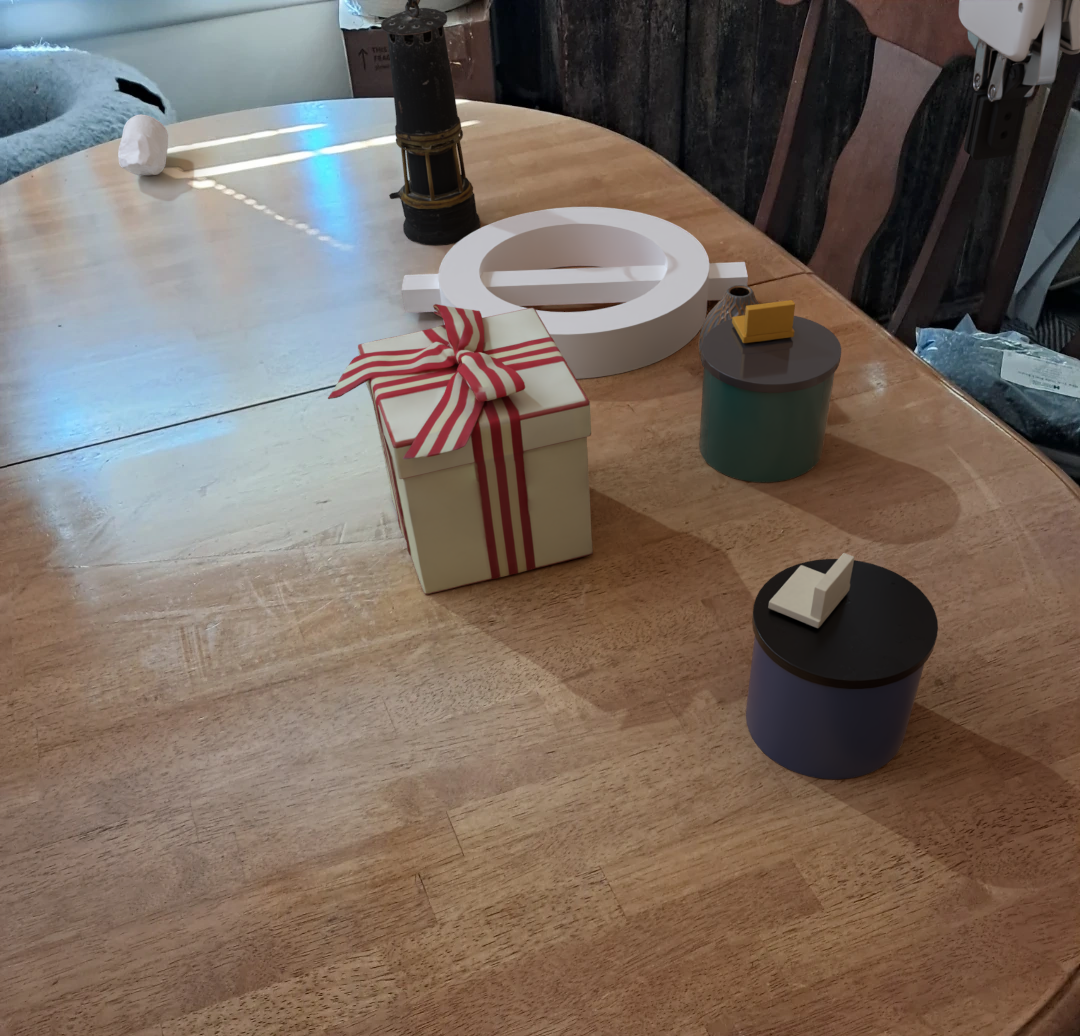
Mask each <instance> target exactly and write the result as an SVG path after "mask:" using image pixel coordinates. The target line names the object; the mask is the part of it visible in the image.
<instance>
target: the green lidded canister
mask: <svg viewBox="0 0 1080 1036" xmlns="http://www.w3.org/2000/svg"><path fill="white" fill-rule="evenodd" d="M792 328H793V329H794V337H790V338H782V339H774V340H766V341H758V342H750V343H743V342H742V340H741V338H740V336H739V335H738V333H737V331H736V329H735V327H734V325H733V323H732V319H729V320H727V321H724V322H722V323H720V324H718V325H717V326H715V327H714V328H712V329H711V330H710V331H709V332H708V333H707V334H706V336H705V337H704V339H703V341H702V346H701V359H700V361H701V360H702V362H703V365H704V368H703V372H702V374H703V375H702V390H701V404H700V405H701V407H700V422H699V423H700V424H699V438H698V439H699V442H698V446H699V452H700V454H701V455H700V456H701V457H702V458H703V460H704V461H705V462H706V463H707V464H708V465H709V467H711V468H712V469H713V470H715V471H716V472H719V473H720V474H722V475H725V476H727V477H729V478H733V479H736V480H740V481H743V482H744V481H745V482H751V483H776V482H783V481H788V480H792V479H795V478H798V477H801V476H802V475H804V474H806V473H808V472H810V471H811V470H812V469H813V468H815V466H816V465H817V464H818V463H819V462H820V460H821V458H822V456H823V452H824V445H825V439H826V433H827V432H826V431H827V426H828V418H829V413H830V405H831V399H832V392H833V388H834V387H833V386H834V379H835V374H836V373H835V372H836V371H837V370H838V368H839V366H840V363H841V359H842V358H841V357H842V345H841V342H840V340H839V338H837V336H836V335H835V334H834V333H833V332H832V331H831V330H830V329H829V328H827V327H825V326H824V325H822V324H820V323H819V322H816V321H814V320H811V319H809V318H805V317H803V316H802V317H801V316H798V315H794V319H793V327H792Z"/></svg>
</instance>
